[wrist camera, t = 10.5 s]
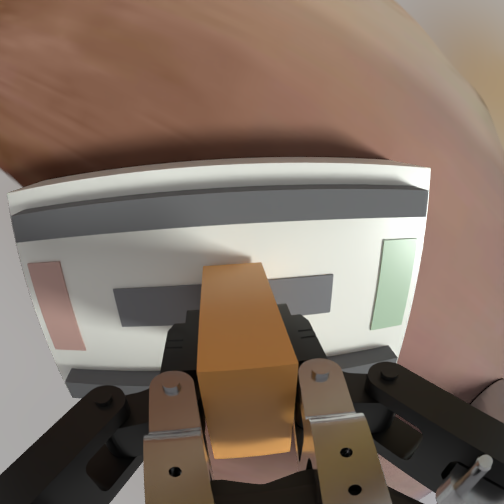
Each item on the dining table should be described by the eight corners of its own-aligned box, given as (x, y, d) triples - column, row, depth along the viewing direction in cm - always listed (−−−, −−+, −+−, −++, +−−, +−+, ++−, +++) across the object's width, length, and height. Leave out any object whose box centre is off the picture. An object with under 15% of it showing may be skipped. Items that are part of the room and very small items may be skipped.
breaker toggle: (261, 262, 13) (298, 363, 7) (262, 340, 14) (289, 451, 8) (203, 266, 13) (196, 372, 7) (211, 344, 14) (214, 459, 8)
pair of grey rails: (413, 185, 13) (428, 190, 12) (384, 361, 17) (392, 373, 15) (24, 209, 11) (10, 216, 10) (78, 383, 15) (72, 397, 14)
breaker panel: (390, 160, 17) (431, 168, 13) (369, 334, 21) (395, 369, 17) (45, 180, 15) (5, 193, 11) (87, 354, 19) (69, 394, 15)
